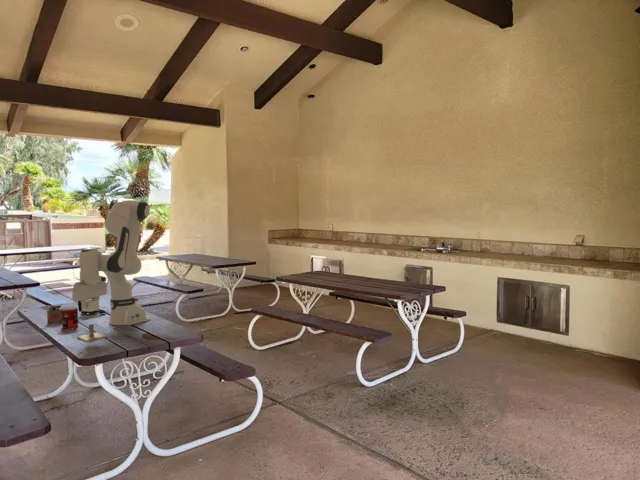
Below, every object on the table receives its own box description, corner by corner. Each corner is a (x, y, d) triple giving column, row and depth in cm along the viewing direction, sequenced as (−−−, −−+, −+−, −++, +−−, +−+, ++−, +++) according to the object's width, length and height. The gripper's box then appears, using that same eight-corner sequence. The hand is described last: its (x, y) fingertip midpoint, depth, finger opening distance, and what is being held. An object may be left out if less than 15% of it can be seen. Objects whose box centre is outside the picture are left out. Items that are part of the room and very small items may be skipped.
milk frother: (83, 311, 303) (82, 288, 302) (109, 310, 306) (109, 287, 304) (76, 316, 289) (75, 292, 288) (103, 315, 292) (103, 291, 291)
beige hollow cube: (89, 308, 243) (89, 298, 243) (99, 309, 242) (98, 298, 242) (81, 311, 238) (81, 300, 238) (91, 311, 236) (90, 300, 236)
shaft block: (97, 334, 248) (96, 321, 248) (106, 337, 242) (105, 324, 241) (77, 338, 241) (76, 324, 240) (85, 341, 234) (85, 327, 234)
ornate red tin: (47, 324, 270) (46, 307, 269) (46, 323, 273) (46, 306, 272) (63, 322, 275) (62, 305, 274) (62, 321, 277) (61, 304, 277)
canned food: (60, 327, 263) (59, 307, 262) (76, 324, 268) (75, 305, 267) (63, 330, 257) (62, 310, 256) (79, 327, 262) (79, 308, 262)
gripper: (79, 282, 228) (80, 311, 229) (108, 277, 248) (109, 303, 249) (68, 282, 230) (69, 310, 231) (98, 276, 250) (99, 302, 250)
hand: (90, 306), depth 240 cm, fingers closed on beige hollow cube, 6 cm apart
